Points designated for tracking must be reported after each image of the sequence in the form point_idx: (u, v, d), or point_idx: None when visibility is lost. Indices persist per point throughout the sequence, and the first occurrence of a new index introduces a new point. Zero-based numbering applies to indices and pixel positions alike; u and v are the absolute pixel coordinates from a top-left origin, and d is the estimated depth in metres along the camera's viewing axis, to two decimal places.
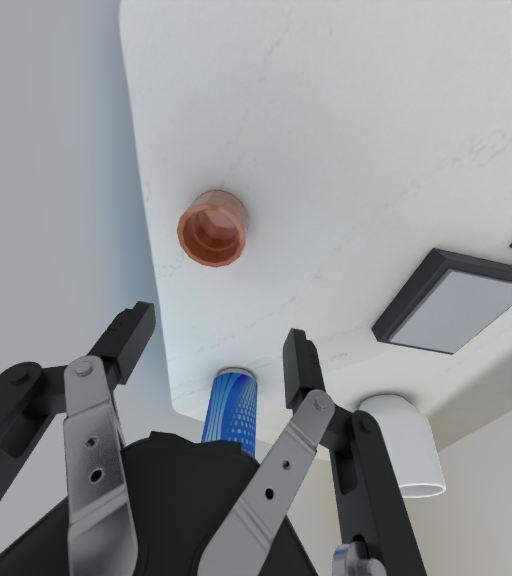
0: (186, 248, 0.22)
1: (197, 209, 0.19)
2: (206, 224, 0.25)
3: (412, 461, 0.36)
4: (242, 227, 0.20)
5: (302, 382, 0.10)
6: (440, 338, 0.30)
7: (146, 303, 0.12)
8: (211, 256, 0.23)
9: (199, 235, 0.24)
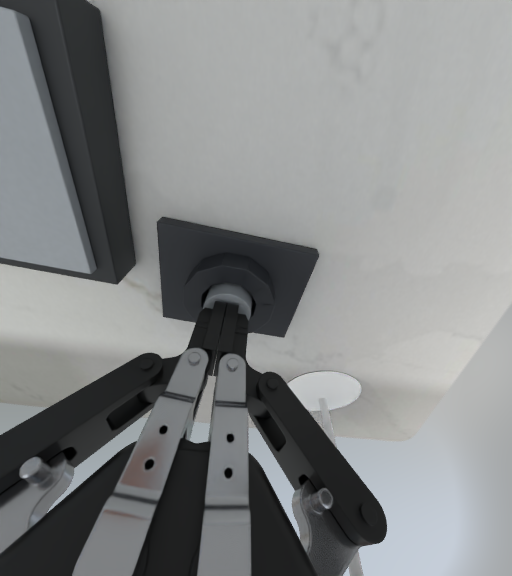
0: None
1: None
2: None
3: None
4: None
5: (221, 347, 0.11)
6: None
7: (222, 302, 0.13)
8: None
9: None
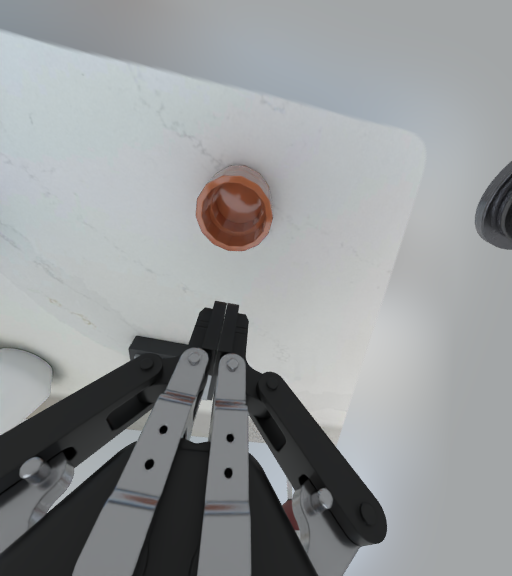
0: (218, 183, 0.17)
1: (267, 208, 0.18)
2: (234, 184, 0.21)
3: None
4: (246, 249, 0.20)
5: (221, 348, 0.11)
6: None
7: (222, 302, 0.13)
8: (205, 205, 0.19)
9: None
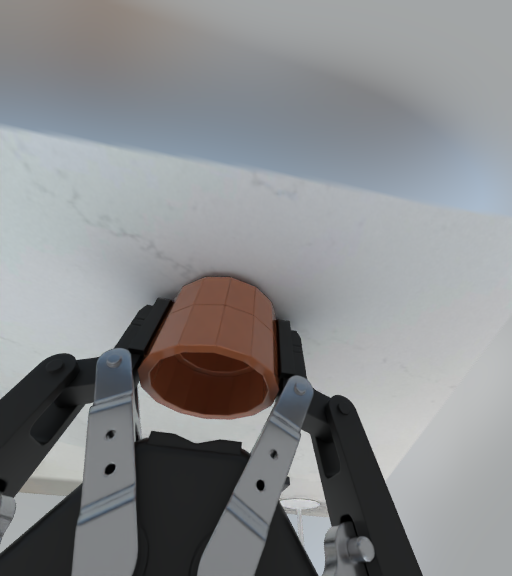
0: (173, 353, 0.09)
1: (268, 381, 0.10)
2: None
3: None
4: None
5: (283, 369, 0.10)
6: None
7: (166, 300, 0.12)
8: None
9: None
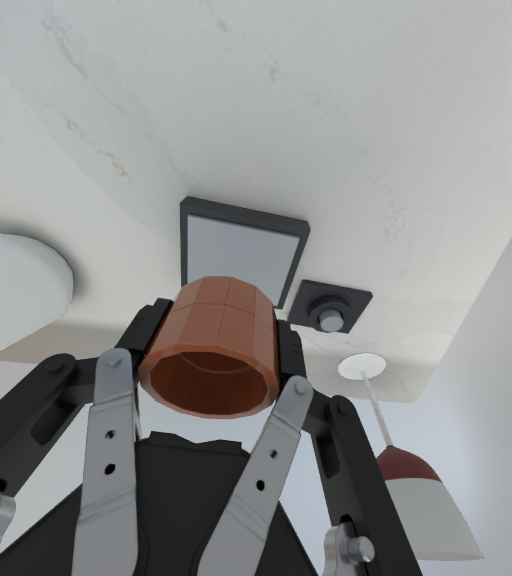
0: (173, 352, 0.09)
1: (269, 380, 0.09)
2: None
3: None
4: None
5: (283, 369, 0.10)
6: (206, 268, 0.27)
7: (166, 300, 0.12)
8: None
9: None
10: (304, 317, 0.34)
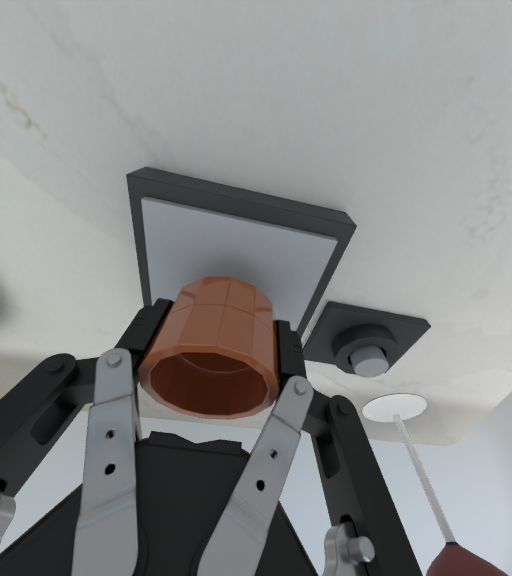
0: (172, 353, 0.09)
1: (268, 381, 0.09)
2: None
3: None
4: None
5: (283, 369, 0.10)
6: (180, 288, 0.17)
7: (165, 300, 0.12)
8: None
9: None
10: (326, 352, 0.24)
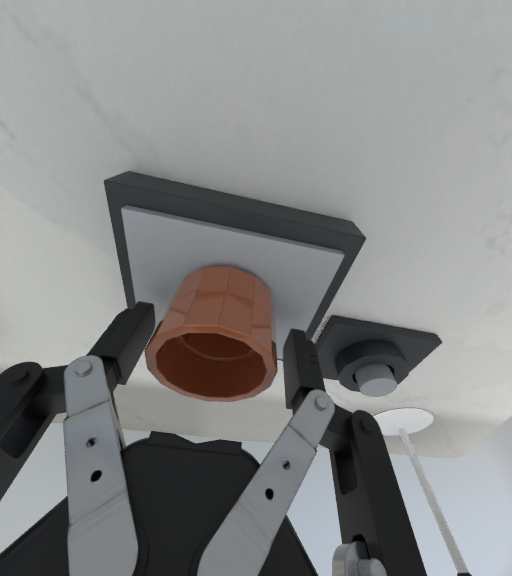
0: (178, 334, 0.09)
1: (267, 361, 0.10)
2: None
3: None
4: None
5: (302, 382, 0.10)
6: None
7: (146, 303, 0.12)
8: (165, 342, 0.11)
9: None
10: (329, 368, 0.22)
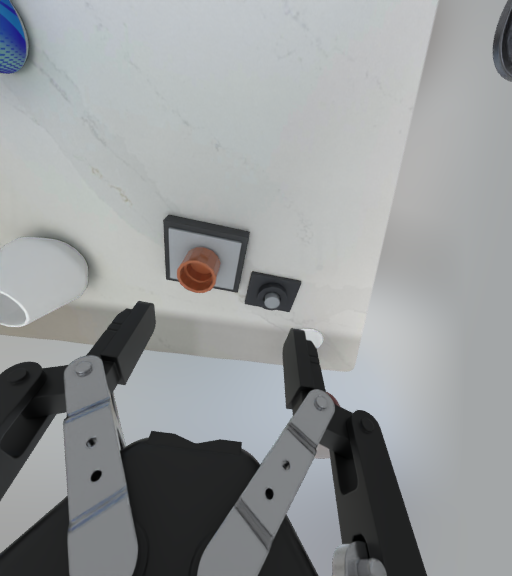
0: (186, 263, 0.34)
1: (212, 273, 0.35)
2: None
3: (36, 290, 0.35)
4: (205, 291, 0.38)
5: (302, 382, 0.10)
6: None
7: (146, 303, 0.12)
8: (182, 270, 0.36)
9: None
10: (256, 299, 0.47)
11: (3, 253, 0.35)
